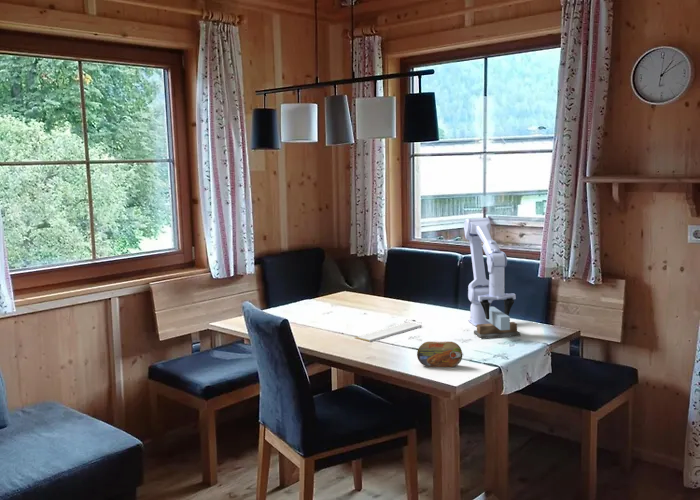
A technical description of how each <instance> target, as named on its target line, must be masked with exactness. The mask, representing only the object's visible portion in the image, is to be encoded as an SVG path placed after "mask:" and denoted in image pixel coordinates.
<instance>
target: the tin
mask: <svg viewBox="0 0 700 500" xmlns="http://www.w3.org/2000/svg"><path fill="white" fill-rule="evenodd" d="M416 357H417V360H418V362H419V363H420V364H421V365H422V366H425V367H427V368H454V367H457V366H458V365H459V364H460V363H461V361H463V360H462V359H463V351H462V348H461V346H460V345H459V344H457V342H454V341H425V342H424V343H421V344H420V345H419V347H418V349H417V352H416Z"/></svg>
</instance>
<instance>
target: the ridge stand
mask: <svg viewBox="0 0 700 500" xmlns="http://www.w3.org/2000/svg"><path fill="white" fill-rule="evenodd" d="M473 334H474V335H475V336H476V335H477V336H476V337H478V338H479V339H480V338H485V339H498V337H499V338H510V337H521V334H522V333H521V332H520V331H519V330H518V324H517V323H516V322H515V321H510V330H500V329H498V328H497V327H495V326H494V325H493V324H477V326H476V330H473Z"/></svg>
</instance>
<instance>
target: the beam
mask: <svg viewBox="0 0 700 500" xmlns="http://www.w3.org/2000/svg"><path fill="white" fill-rule="evenodd" d="M485 320H487V321H488V322H490V323H491V324H493V325H494V326H495V327H497V328H498V329H500V330H510V322H511V317H510V316H508V315H506V314H505V313H504V312H503V311H502V310H500V309H498V308H497V307H495V306H490V308H489V319H486V317H485Z"/></svg>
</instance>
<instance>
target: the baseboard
mask: <svg viewBox="0 0 700 500" xmlns="http://www.w3.org/2000/svg"><path fill="white" fill-rule="evenodd" d="M409 321H410V322H409ZM414 322H417V321H416V320H415V319H411V320H410V319H409V320H408V322H407V321H406V320H404V323H400V324H397V325H393V326H390V327H386V328H383V329H379V330H375V331H371V332H368V333H365V334H361V335H359V336H356V337H354V339H356V340H360V341H363V342H368V343H370V342H375V341H377V340H382V339H384V338H385V339H386V338H388V337H392V336H395V335H399V334H401V333H406V332H409V331H412V330H416V329H419V327H420V328H422V326H423V325H422V324H421V323H414Z"/></svg>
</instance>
